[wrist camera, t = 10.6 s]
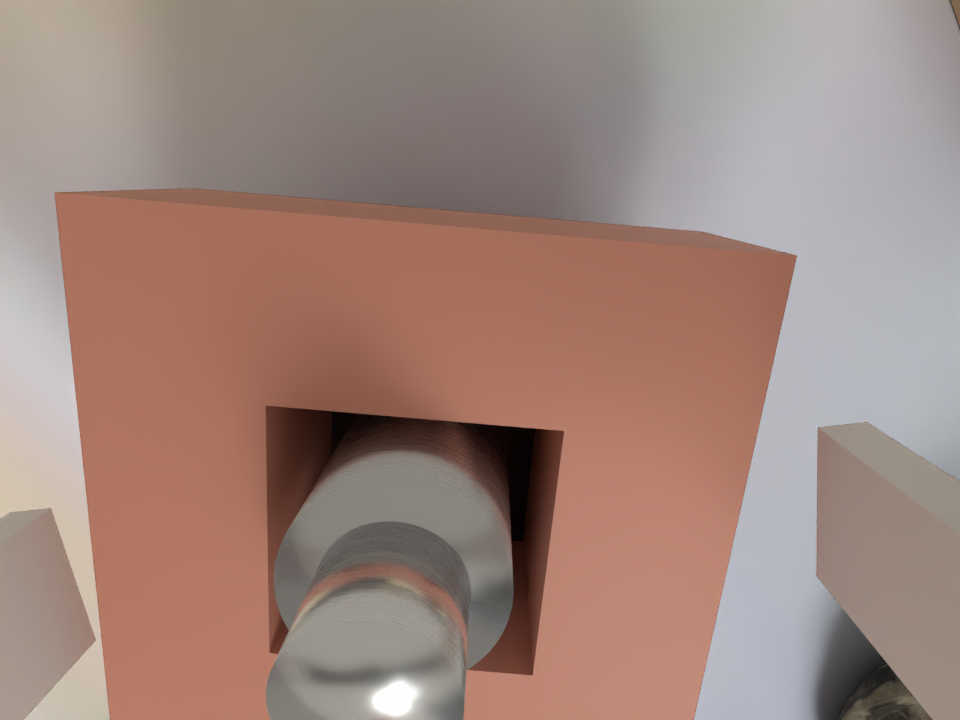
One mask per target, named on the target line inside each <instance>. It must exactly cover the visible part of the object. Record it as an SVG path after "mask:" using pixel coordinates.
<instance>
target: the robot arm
mask: <svg viewBox="0 0 960 720" xmlns="http://www.w3.org/2000/svg"><path fill="white" fill-rule="evenodd" d="M816 576H817V577H818V579H819V580H820V581H821V582H822V583H823V585H824V586H825V587H826V588H827V590H828V591H829V592H830V593H831V595H832V596H833V597H834V598H835V600H836V601H837V602H838V603H839V605H840V606H841V607H842V608H843V609H844V611H845V612H846V613H847V614H848V616H849V617H850V618H851V619H852V621H853V622H854V623H855V624H856V626H857V627H858V628H859V629H860V630H861V632H862V633H863V634H864V635H865V637H866V638H867V639H868V640H869V642H870V643H871V644H872V645H873V647H874V648H875V649H876V650H877V651H878V653H879V654H880V655H881V656H882V658H883V659H884V660H885V661H886V663H887V664H888V665H889V666H890V668H891V669H892V670H893V671H894V672H895V674H896V675H897V676H898V677H899V679H900V680H901V681H902V682H903V684H904V685H905V686H906V687H907V689H908V690H909V691H910V692H911V694H912V695H913V696H914V697H915V698H916V700H917V701H918V702H919V703H920V705H921V706H922V707H923V708H924V710H925V711H926V712H927V713H928V715H929V716H930V717H931V718H932V719H933V720H960V481H958V480H956V479H955V478H953V477H952V476H950V475H949V474H947V473H946V472H944V471H942V470H941V469H939V468H938V467H936V466H935V465H933V464H931V463H930V462H928V461H927V460H925V459H924V458H922V457H921V456H919V455H917V454H916V453H914V452H913V451H911V450H910V449H908V448H906V447H905V446H903V445H902V444H900V443H899V442H897V441H895V440H894V439H892V438H891V437H889V436H888V435H886V434H885V433H883V432H881V431H880V430H878V429H877V428H875V427H874V426H872V425H870V424H869V423H867V422H864V423H854V424H845V425H835V426H826V427H818V452H817V573H816ZM95 641H96V639H95V636H94V633H93V630H92V627H91V625H90V622H89V619H88V616H87V613H86V610H85V607H84V604H83V601H82V598H81V595H80V592H79V589H78V586H77V583H76V581H75V578H74V575H73V572H72V569H71V566H70V563H69V560H68V557H67V554H66V551H65V548H64V545H63V542H62V539H61V537H60V534H59V531H58V528H57V525H56V522H55V519H54V516H53V513H52V510H51V508H48V509H38V510H29V511H19V512H10V513H9V514H7V515H5V516H4V517H2V518H1V519H0V720H24V719H25V718H26V717H27V716H28V714H29V713H30V712H31V711H32V710H33V709H34V708H35V707H36V706H37V705H38V703H39V702H40V701H41V700H42V699H43V698H44V697H45V696H46V695H47V694H48V692H49V691H50V690H51V689H52V688H53V687H54V686H55V685H56V684H57V682H58V681H59V680H60V679H61V678H62V677H63V676H64V675H65V674H66V673H67V671H68V670H69V669H70V668H71V667H72V666H73V665H74V664H75V663H76V662H77V660H78V659H79V658H80V657H81V656H82V655H83V654H84V653H85V652H86V651H87V649H88V648H89V647H90V646H91V645H92V644H93V643H94V642H95Z"/></svg>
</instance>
